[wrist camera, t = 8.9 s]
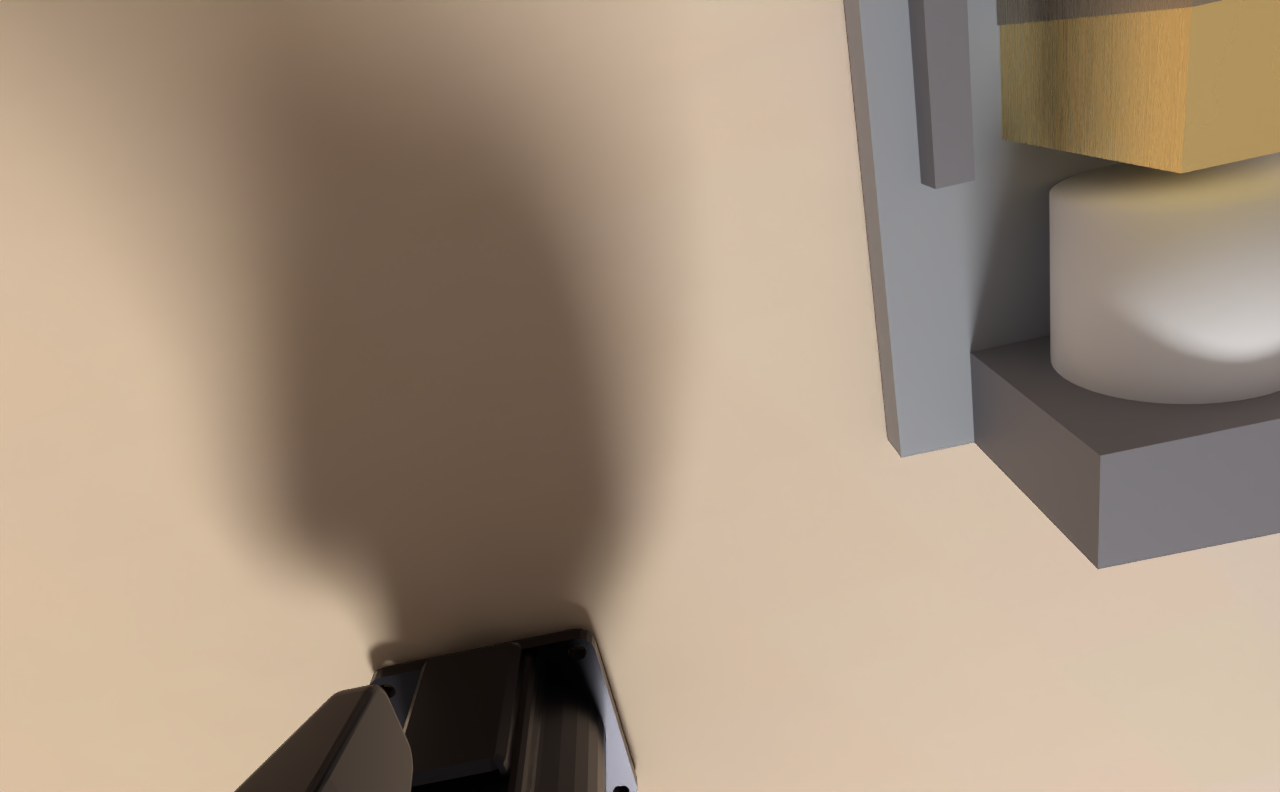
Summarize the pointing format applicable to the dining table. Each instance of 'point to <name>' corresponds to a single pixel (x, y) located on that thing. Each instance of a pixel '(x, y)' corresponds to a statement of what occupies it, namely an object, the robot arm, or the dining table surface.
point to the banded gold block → (1143, 79)
